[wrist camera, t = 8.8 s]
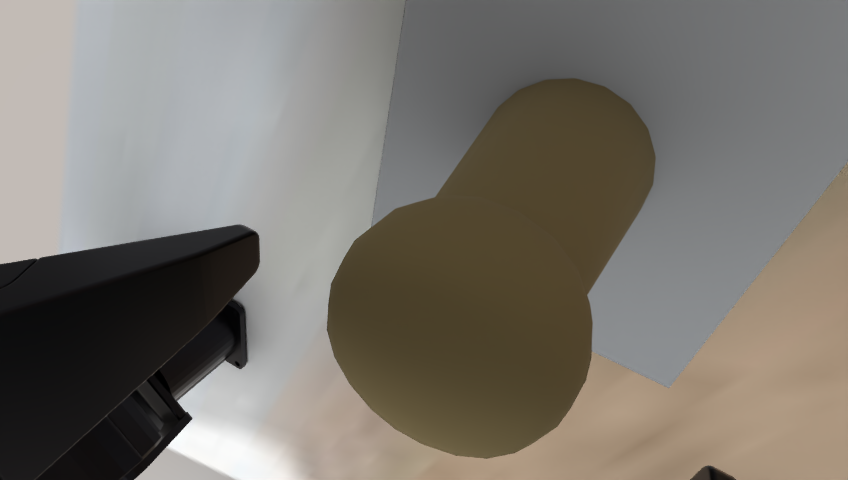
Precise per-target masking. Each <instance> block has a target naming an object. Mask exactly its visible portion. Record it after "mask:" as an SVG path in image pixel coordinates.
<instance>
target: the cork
mask: <svg viewBox="0 0 848 480" xmlns="http://www.w3.org/2000/svg"><path fill="white" fill-rule="evenodd" d="M655 160H656V156H655V152H654V148H653V145H652V141H651V137H650V134H649V130H648V128H647V126H646V125H645V124H644V122H643V121H642V119H641V118H640V117H639V115H638V114H637V112H636V111H635V110H634V108H633V107H632V105H631V104H630V103H628V102H627V101H625V100H624V99H622V98H621V97H619V96H618V95H617V94H615V93H614V92H612V91H611V90H609V89H608V88H606V87H605V86H601V85H598V84H594V83H591V82H587V81H583V80H580V79H576V78H570V79H548V80H543V81H541V82H538V83H535V84H533V85H530V86H528V87H525V88H522V89H520V90H518V91H517V92H516V93H514V94H513V95H512V96H511V97H510V98H508V99H507V100H506V101H505V102H504V103H502V104H501V105H500V106H499V107H498V108H497V109H496V111H495V112H494V113H493V115H492V116H491V118H490V119H489V121H488V122H487V123H486V125H485V126H484V128H483V129H482V131H481V132H480V133H479V135H478V136H477V138H476V139H475V141H474V142H473V143H472V145H471V146H470V148H469V149H468V151H467V152H466V153H465V155H464V156H463V158H462V159H461V161H460V162H459V163H458V165H457V166H456V168H455V169H454V171H453V172H452V173H451V175H450V176H449V178H448V179H447V181H446V182H445V183H444V185H443V186H442V188H441V189H440V191H439V192H438V193H437V195H436V196H435V197H433V198H430V199H426V200H423V201H419V202H415V203H412V204H409V205H405V206H402V207H399V208H396V209H394V210H393V211H392V212H390V213H389V214H388V215H387V216H385V217H384V218H383V219H381V220H380V221H379V222H378V223H376V224H375V225H374V226H372V227H371V228H370V229H369V230H367V231H366V232H365V233H364V234H362V235H361V236H360V237H359V238H357V239H356V240H355V241H354V243H353V244H352V246H351V247H350V249H349V251H348V252H347V254H346V256H345V257H344V259H343V261H342V263H341V265H340V267H339V269H338V271H337V273H336V275H335V277H334V279H333V281H332V283H331V289H330V297H329V304H328V321H327V331H328V335H329V339H330V342H331V346H332V350H333V353H334V357H335V359H336V360H337V362H338V364H339V366H340V368H341V369H342V371H343V373H344V375H345V376H346V378H347V380H348V382H349V383H350V385H351V386H352V387H353V388H354V390H355V391H356V392H357V393H358V394H359V395H360V397H361V398H362V399H363V400H364V401H365V402H366V404H367V405H368V406H369V407H370V408H371V409H372V410H373V411H374V412H375V413H376V414H377V415H379V416H380V417H381V418H382V419H384V420H385V421H386V422H387V423H388V424H390V425H391V426H392V427H393V428H395V429H396V430H398V431H400V432H402V433H403V434H405V435H407V436H409V437H410V438H412V439H414V440H416V441H417V442H419V443H421V444H424V445H426V446H429V447H432V448H435V449H438V450H441V451H444V452H447V453H450V454H453V455H456V456H466V457H476V458H486V459H487V458H492V457H497V456H502V455H507V454H512V453H515V452H517V451H519V450H521V449H523V448H525V447H527V446H529V445H530V444H532V443H534V442H535V441H537V440H538V439H540V438H541V437H543V436H544V435H546V434H547V433H549V432H550V431H551V430H553V429H554V428H556V427H557V426H558V425H559V424H560V422H561V421H562V419H563V418H564V417H565V415H566V414H567V412H568V411H569V410H570V408H571V406H572V405H573V403H574V401H575V399H576V397H577V395H578V394H579V392H580V390H581V388H582V386H583V384H584V383H585V381H586V377H587V373H588V369H589V365H590V361H591V352H592V329H593V321H592V314H591V307H590V302H589V299H588V296H587V295H588V293H589V292H590V290H591V289H592V287H593V285H594V284H595V282H596V281H597V279H598V277H599V276H600V274H601V273H602V271H603V269H604V268H605V266H606V265H607V263H608V261H609V260H610V258H611V257H612V255H613V253H614V252H615V250H616V249H617V247H618V245H619V244H620V242H621V241H622V239H623V237H624V236H625V234H626V233H627V231H628V229H629V228H630V226H631V225H632V223H633V221H634V220H635V218H636V217H637V215H638V213H639V212H640V210H641V208H642V206H643V204H644V202H645V200H646V198H647V196H648V194H649V192H650V190H651V188H652V186H653V181H654V171H655Z"/></svg>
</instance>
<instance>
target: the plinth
mask: <svg viewBox="0 0 848 480" xmlns="http://www.w3.org/2000/svg"><path fill="white" fill-rule="evenodd" d="M570 78H576V79H580V80H583V81H587V82H591V83H594V84H598V85H601V86H605V87H606V88H608V89H609V90H611V91H612V92H614V93H615V94H617V95H618V96H619V97H621V98H622V99H624V100H625V101H627V102H628V103H630V104H631V105H632V107H633V108H634V110H635V111H636V112H637V114H638V115H639V117H640V118H641V119H642V121H643V122H644V124H645V125H646V126H647V128H648V130H649V134H650V137H651V141H652V145H653V148H654V152H655V156H656V160H655V171H654V181H653V186H652V188H651V190H650V192H649V194H648V196H647V198H646V200H645V202H644V204H643V206H642V208H641V210H640V212H639V213H638V215H637V217H636V218H635V220H634V221H633V223H632V225H631V226H630V228H629V229H628V231H627V233H626V234H625V236H624V237H623V239H622V241H621V242H620V244H619V245H618V247H617V249H616V250H615V252H614V253H613V255H612V257H611V258H610V260H609V261H608V263H607V265H606V266H605V268H604V269H603V271H602V273H601V274H600V276H599V277H598V279H597V281H596V282H595V284H594V285H593V287H592V289H591V290H590V292H589V293H588V295H587V296H588V299H589V302H590V307H591V314H592V321H593V329H592V351H593V352H595V353H597V354H599V355H601V356H603V357H605V358H607V359H609V360H611V361H613V362H616V363H618V364H620V365H622V366H624V367H626V368H628V369H630V370H632V371H634V372H636V373H638V374H640V375H643V376H645V377H647V378H649V379H651V380H653V381H655V382H657V383H659V384H661V385H663V386H665V387H668V388H669V387H670V386H671V385H672V383H673V382H674V381H675V380H676V378H677V377H678V376H679V375H680V373H681V372H682V371H683V370H684V368H685V367H686V366H687V364H688V363H689V362H690V361H691V359H692V358H693V357H694V356H695V354H696V353H697V352H698V351H699V349H700V348H701V347H702V346H703V344H704V343H705V342H706V340H707V339H708V338H709V337H710V335H711V334H712V333H713V332H714V330H715V329H716V328H717V327H718V325H719V324H720V323H721V321H722V320H723V319H724V318H725V316H726V315H727V314H728V313H729V311H730V310H731V309H732V308H733V306H734V305H735V304H736V302H737V301H738V300H739V299H740V297H741V296H742V295H743V294H744V292H745V291H746V290H747V289H748V287H749V286H750V285H751V283H752V282H753V281H754V280H755V278H756V277H757V276H758V275H759V273H760V272H761V271H762V270H763V268H764V267H765V266H766V264H767V263H768V262H769V261H770V259H771V258H772V257H773V256H774V254H775V253H776V252H777V251H778V249H779V248H780V247H781V245H782V244H783V243H784V242H785V240H786V239H787V238H788V237H789V235H790V234H791V233H792V232H793V230H794V229H795V228H796V227H797V225H798V224H799V223H800V221H801V220H802V219H803V218H804V216H805V215H806V214H807V213H808V211H809V210H810V209H811V208H812V206H813V205H814V204H815V202H816V201H817V200H818V199H819V197H820V196H821V195H822V194H823V192H824V191H825V190H826V189H827V187H828V186H829V185H830V183H831V182H832V181H833V180H834V178H835V177H836V176H837V175H838V173H839V172H840V171H841V170H842V168H843V167H844V166H845V164H846V163H847V162H848V0H406V3H405V10H404V16H403V23H402V29H401V36H400V42H399V49H398V55H397V62H396V68H395V75H394V81H393V88H392V94H391V101H390V107H389V114H388V120H387V127H386V133H385V140H384V146H383V153H382V159H381V166H380V172H379V179H378V185H377V192H376V198H375V205H374V211H373V218H372V224H371V227H372V226H374V225H375V224H376V223H378V222H379V221H380V220H381V219H383V218H384V217H385V216H387V215H388V214H389V213H390V212H392V211H393V210H394V209H396V208H399V207H402V206H405V205H409V204H412V203H415V202H419V201H423V200H426V199H430V198H433V197H435V196H436V195H437V193H438V192H439V191H440V189H441V188H442V186H443V185H444V183H445V182H446V181H447V179H448V178H449V176H450V175H451V173H452V172H453V171H454V169H455V168H456V166H457V165H458V163H459V162H460V161H461V159H462V158H463V156H464V155H465V153H466V152H467V151H468V149H469V148H470V146H471V145H472V143H473V142H474V141H475V139H476V138H477V136H478V135H479V133H480V132H481V131H482V129H483V128H484V126H485V125H486V123H487V122H488V121H489V119H490V118H491V116H492V115H493V113H494V112H495V111H496V109H497V108H498V107H499V106H500V105H501V104H502V103H504V102H505V101H506V100H507V99H508V98H510V97H511V96H512V95H513V94H514V93H516V92H517V91H518V90H520V89H522V88H525V87H528V86H530V85H533V84H535V83H538V82H541V81H543V80H548V79H570Z"/></svg>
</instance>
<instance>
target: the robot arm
mask: <svg viewBox="0 0 848 480" xmlns="http://www.w3.org/2000/svg"><path fill="white" fill-rule="evenodd" d="M259 263H260V246H259V235H258V233H257V232H256V231H254V230H252V229H250V228H248V227H246V226H244V225H233V226H227V227H221V228H215V229H209V230H203V231H197V232H191V233H185V234H179V235H173V236H167V237H161V238H155V239H149V240H143V241H137V242H131V243H125V244H119V245H113V246H107V247H101V248H95V249H89V250H83V251H77V252H72V253H66V254H60V255H54V256H48V257H42V258H40V259H29V260H23V261H18V262H12V263H6V264H0V480H134V479H135V478H136V477H137V476H139V475H140V474H141V473H142V472H143V471H144V470H145V469H146V468H147V467H148V466H149V465H150V464H151V463H152V462H153V461H154V460H155V459H156V458H157V456H158V455H159V454H160V453H161V452H162V451H163V450H164V449H165V448H166V447H167V446H168V445H169V444H170V442H171V441H172V440H173V439H174V438H175V437H176V436H177V435H178V434H179V433H180V432H181V431H182V429H183V428H184V427H185V426H186V425H187V424H188V423H189V422H190V421H191V420H192V417H191V416H190V415H189V413H188V412H185V411H184V410H183V408H182V407H181V406H180V405H179V403H178V402H177V401H178V400H179V399H180V398H181V397H182V396H184V395H185V394H186V393H187V392H188V391H189V390H191V389H192V388H193V387H194V386H195V385H197V384H198V383H199V382H200V381H201V380H202V379H204V378H205V377H206V376H207V375H208V374H210V373H211V372H212V371H213V370H214V369H215V368H217V367H218V366H219V365H220V364H221V363H223V362H224V361H225V360H226V361H227V362H229V363H231V364H232V365H234V366H235V367H237V368H239V369H242V368H243V367H244V366H245V365H246V344H245V320H244V311H243V309H242V308H241V306H239V305H238V304H236V303H234V302H233V301H231V299H232V298H233V297H234V296H235V295H236V293H237V292H238V291H239V290H240V289H241V288H242V287H243V286H244V285H245V284H246V283H247V281H248V280H249V279H250V278H251V277H252V276H253V275H254V274H255V272H256V271H257V269H258V267H259ZM690 480H736V479H735V478H734V477H732V476H730V475H728V474H726V473H724V472H723V471H721V470H719V469H717V468H715V467H713V466H705V467H703V468H702V469H701V470H700V471H699V472H698V473H697V474H696V475H695V476H694V477H692V478H691V479H690Z"/></svg>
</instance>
